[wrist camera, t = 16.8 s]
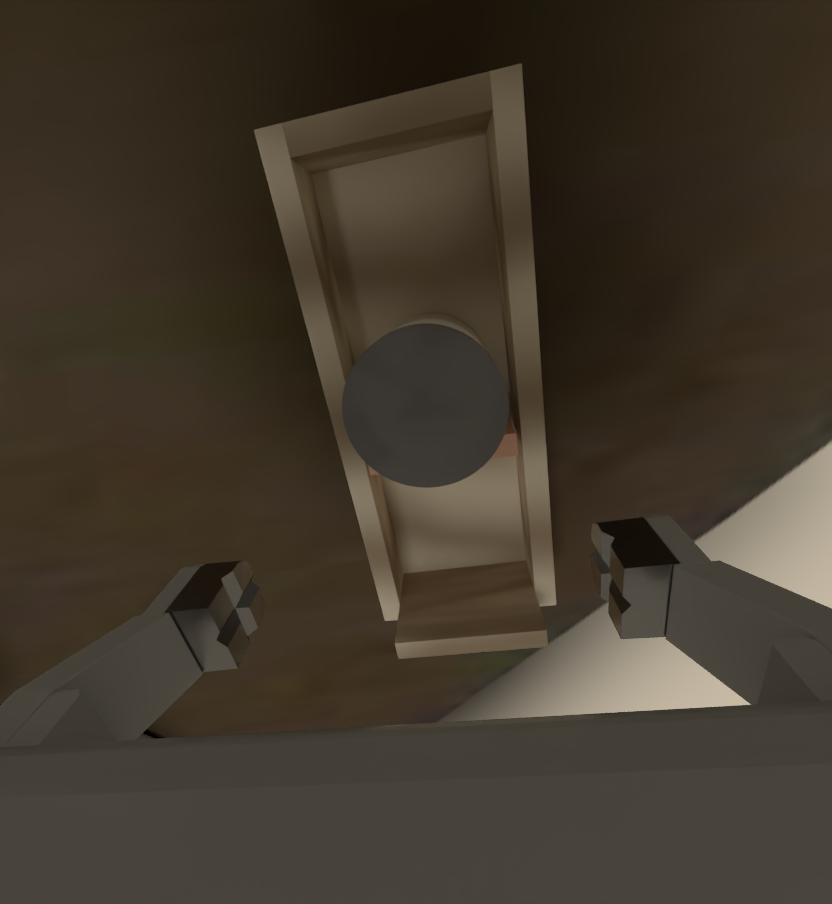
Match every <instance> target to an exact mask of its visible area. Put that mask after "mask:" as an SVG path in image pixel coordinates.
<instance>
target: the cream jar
mask: <svg viewBox="0 0 832 904" xmlns="http://www.w3.org/2000/svg"><path fill="white" fill-rule="evenodd" d="M508 415H509V401H508V394H507V389H506V386H505V383H504V380H503V377H502V375H501V373H500V372H499V370H498V368H497V366H496V364H495V362H494V360H493V359H492V358H491V356H490V355H489V353H488V352H487V351H486V350H485V349H484V347H483V345H482V343H481V341H480V339H479V337H478V336H477V335H476V333H475V332H474V331H473V330H472V329H471V327H470V326H468V325H467V324H466V323H465V322H463V321H462V320H460V319H458V318H456V317H454V316H452V315H449V314H445V313H439V312H428V313H421V314H418V315H414V316H412V317H410V318H408V319H406V320H405V321H403V322H401V323H400V324H399V325H398V326H397V327H395V328H394V329H393V330H392V331H391V332H389V333H387V334H386V335H384V336H382V337H381V338H380V339H378V340H377V341H376V342H375V343H373V344H372V345H371V346H370V347H369V348H368V349H366V350H365V352H364V353H363V354H362V355H361V356H360V357H359V358H358V360H357V361H356V363H355V364H354V365H353V367H352V369H351V371H350V373H349V375H348V377H347V380H346V383H345V386H344V391H343V396H342V416H343V421H344V426H345V429H346V432H347V435H348V438H349V440H350V442H351V444H352V446H353V447H354V449H355V450H356V452H357V453H358V455H359V456H360V457H361V458H362V459H363V460H364V461H365V463H367V464H368V465H369V466H370V467H371V468H372V469H373V470H375V471H376V472H378V473H379V474H381V475H382V476H384V477H386V478H388V479H390V480H392V481H395V482H397V483H400V484H404V485H407V486H413V487H423V488H431V487H441V486H445V485H450V484H453V483H456V482H459V481H461V480H463V479H465V478H467V477H469V476H470V475H472V474H474V473H475V472H477V471H478V470H479V469H480V468H481V467H483V466H484V465H485V464H486V463H487V462H488V461H489V460H490V459H491V457H492V456H493V455H494V453H495V452H496V450H497V449H498V447H499V445H500V443H501V441H502V439H503V437H504V434H505V431H506V427H507V423H508Z"/></svg>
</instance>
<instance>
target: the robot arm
mask: <svg viewBox="0 0 832 904" xmlns="http://www.w3.org/2000/svg"><path fill="white" fill-rule="evenodd" d="M591 539H592V541H593V543H594V545H595V547H596V549H595V551H594V552H593V553H592V554H591V567H592V573H593V578H594V582H595V585H596V588H597V590H598V592H599V594H600V597H601V598H603V599H604V600H606V601H607V602H609V615H610V617H611V619H612V621H613V623H614V626H615V627H616V630H617V632H618V634H619V636H620V638H621V639H628V638H629V639H630V638H650V637H666V639H667V640H668V641H669V642H670V643H672V644H673V645H674V646H676V647H677V648H678V649H680V650H681V651H682V652H683V653H685V654H686V655H687V656H689V657H690V658H691V659H693V660H694V661H695V662H696V663H698V664H699V665H700V666H702V667H703V668H704V669H706V670H707V671H708V672H710V673H711V674H712V675H713V676H715V677H716V678H717V679H719V680H720V681H721V682H723V683H724V684H725V685H726V686H728V687H729V688H730V689H732V690H733V691H734V692H736V693H737V694H738V695H739V696H741V697H742V698H743V699H745V700H746V701H747V702H749V703H750V704H751V705H742V706H724V707H706V708H689V709H672V710H654V711H636V712H618V713H601V714H582V715H565V716H548V717H531V718H513V719H495V720H494V719H493V720H476V721H458V722H442V723H441V722H440V723H422V724H405V725H387V726H370V727H352V728H334V729H317V730H299V731H281V732H264V733H246V734H229V735H211V736H193V737H176V738H158V739H140V740H136V739H137V738H138V737H139V736H140V735H141V734H142V733H143V732H144V731H145V730H146V729H147V728H148V727H149V726H150V725H151V724H152V723H153V722H154V721H155V720H156V719H157V718H158V717H159V716H161V715H162V714H163V713H164V712H165V711H166V710H167V709H168V708H169V707H170V706H171V705H172V704H173V703H174V702H175V701H176V700H177V699H178V698H179V697H180V696H181V695H182V694H183V693H184V692H185V691H186V690H187V689H188V688H189V687H190V686H191V685H192V684H193V683H194V682H195V681H196V680H197V679H198V678H199V677H200V676H201V675H202V674H203V673H202V672H207V671H217V670H226V669H235V668H238V667H239V665H240V663H241V661H242V659H243V657H244V655H245V653H246V651H247V649H248V647H249V645H250V641H249V638H248V635H250V634H251V633H252V632H253V631H254V630H256V629H257V628H258V626H259V624H260V622H261V620H262V618H263V612H264V599H263V594H262V592H261V589H260V587H258V586H257V585H256V584H254V583H253V582H251V580H252V577H253V575H254V573H253V571H252V568H251V566H250V564H249V563H248V562H245V561H232V562H221V563H209V564H199V565H190V566H186V567H184V568H181V569H180V571H179V572H178V573H177V574H176V575H175V576H174V578H173V579H172V580H171V581H170V582H169V584H168V585H167V586H166V587H165V588H164V589H163V591H162V592H161V593H160V594H159V595H158V597H157V598H156V599H155V600H154V601H153V602H152V604H151V605H150V606H149V607H148V608H147V610H146V611H145V612H144V613H143V614H142V615H141V616H135V617H133V618H131V619H130V620H128V621H127V622H125V623H123V624H122V625H120V626H119V627H117V628H115V629H114V630H112V631H111V632H109V633H107V634H106V635H104V636H103V637H101V638H99V639H98V640H96V641H95V642H93V643H91V644H90V645H88V646H87V647H85V648H83V649H82V650H80V651H79V652H77V653H75V654H74V655H72V656H71V657H69V658H67V659H66V660H64V661H63V662H61V663H59V664H58V665H56V666H55V667H53V668H51V669H50V670H48V671H47V672H45V673H43V674H42V675H40V676H39V677H37V678H35V679H34V680H32V681H31V682H29V683H27V684H26V685H24V686H23V687H21V688H19V689H18V690H16V691H15V692H14V693H13V694H12V695H11V696H10V697H9V698H8V699H7V700H6V701H5V702H4V703H3V704H2V705H1V706H0V904H832V609H831V608H829V607H827V606H824V605H822V604H820V603H817V602H815V601H812V600H810V599H808V598H806V597H803V596H801V595H799V594H796V593H794V592H791V591H789V590H787V589H784V588H782V587H780V586H777V585H775V584H773V583H770V582H768V581H766V580H763V579H761V578H759V577H756V576H754V575H752V574H749V573H747V572H745V571H742V570H740V569H738V568H735V567H733V566H731V565H728V564H726V563H724V562H721V561H711V560H710V559H709V558H708V557H707V556H706V555H705V554H704V553H703V552H702V551H701V549H700V548H699V547H698V546H697V545H696V544H695V543H694V542H693V541H692V540H691V539H690V538H689V536H688V535H687V534H686V533H685V532H684V531H683V530H682V529H681V528H680V527H679V526H678V524H677V523H676V522H675V521H674V520H673V519H672V518H671V517H670V516H669V515H667V514H658V515H650V516H643V517H640V518H633V519H624V520H615V521H607V522H598V523H593V525H592V529H591Z"/></svg>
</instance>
